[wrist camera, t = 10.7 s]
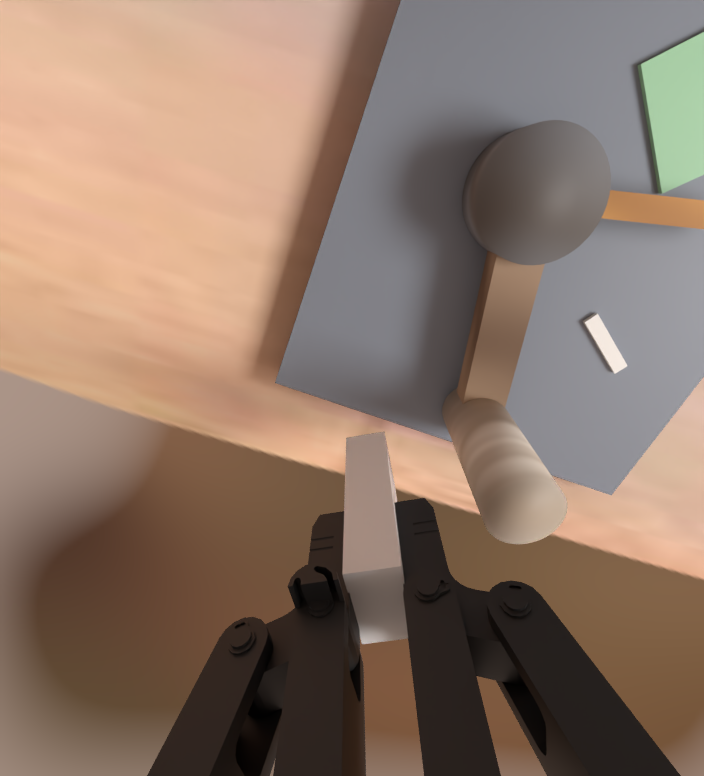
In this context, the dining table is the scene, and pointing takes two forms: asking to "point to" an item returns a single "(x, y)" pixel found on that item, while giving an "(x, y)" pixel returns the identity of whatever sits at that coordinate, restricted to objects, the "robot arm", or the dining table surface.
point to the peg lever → (528, 301)
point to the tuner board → (467, 258)
